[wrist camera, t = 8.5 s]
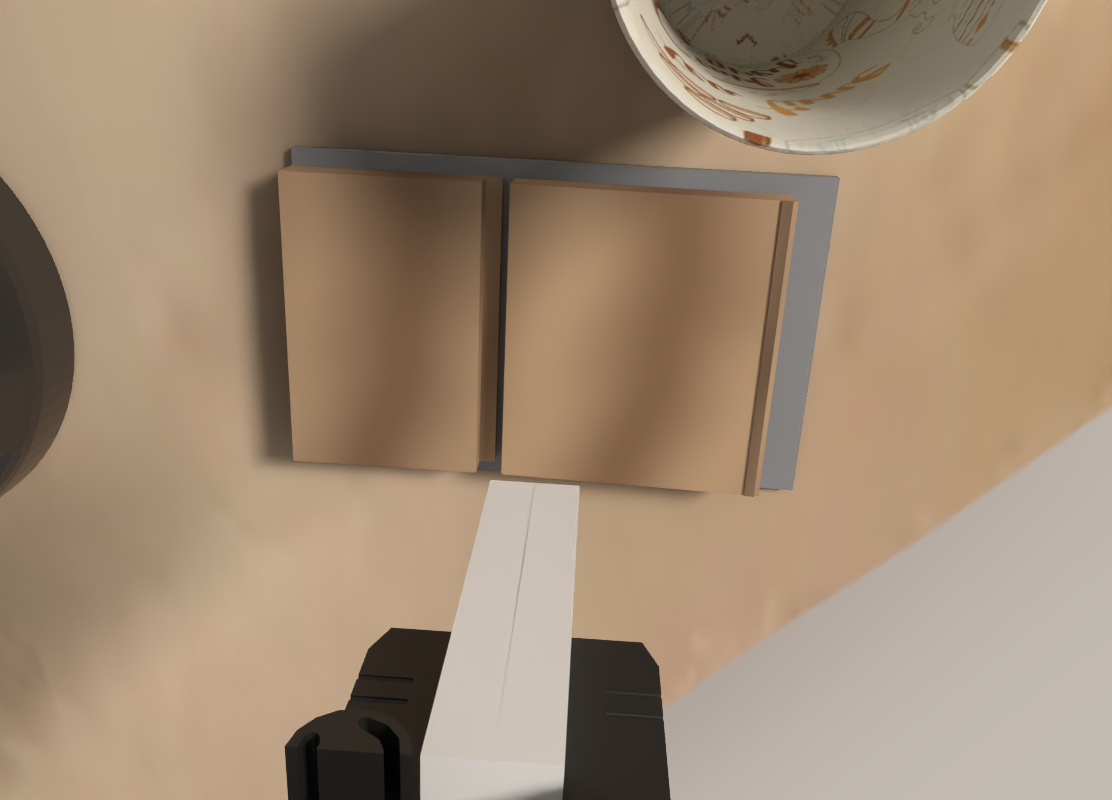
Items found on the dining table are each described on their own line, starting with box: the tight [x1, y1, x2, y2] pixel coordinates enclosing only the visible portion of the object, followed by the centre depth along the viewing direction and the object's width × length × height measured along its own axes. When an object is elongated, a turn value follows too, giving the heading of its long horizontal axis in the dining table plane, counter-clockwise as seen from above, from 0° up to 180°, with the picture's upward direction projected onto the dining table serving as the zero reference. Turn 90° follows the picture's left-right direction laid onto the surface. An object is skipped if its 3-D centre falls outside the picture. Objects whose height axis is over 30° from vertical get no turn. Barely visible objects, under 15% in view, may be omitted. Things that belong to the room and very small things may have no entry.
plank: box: [501, 178, 799, 497], centre depth 29 cm, size 8×9×1 cm
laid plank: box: [278, 165, 504, 473], centre depth 29 cm, size 6×9×1 cm
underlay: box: [291, 146, 840, 490], centre depth 30 cm, size 16×10×1 cm, turn 87°
